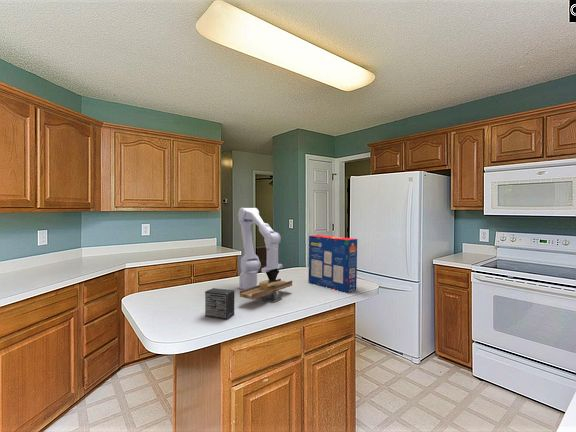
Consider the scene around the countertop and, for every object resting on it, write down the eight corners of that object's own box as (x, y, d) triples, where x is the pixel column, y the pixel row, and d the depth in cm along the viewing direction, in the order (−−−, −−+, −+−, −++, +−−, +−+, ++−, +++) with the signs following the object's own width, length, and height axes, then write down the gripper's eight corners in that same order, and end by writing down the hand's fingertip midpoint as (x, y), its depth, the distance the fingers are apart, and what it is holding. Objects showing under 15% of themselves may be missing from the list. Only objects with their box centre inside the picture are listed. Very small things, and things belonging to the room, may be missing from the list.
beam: (239, 296, 136) (239, 291, 136) (279, 283, 162) (279, 278, 162) (253, 299, 132) (253, 294, 132) (292, 285, 157) (292, 280, 157)
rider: (259, 288, 145) (259, 282, 145) (266, 285, 150) (266, 279, 150) (267, 290, 142) (267, 283, 142) (274, 287, 147) (274, 281, 147)
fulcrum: (253, 298, 147) (253, 288, 147) (262, 294, 153) (262, 285, 153) (273, 303, 141) (273, 292, 140) (282, 299, 146) (282, 289, 146)
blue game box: (356, 290, 163) (357, 239, 162) (347, 293, 158) (348, 240, 157) (317, 280, 184) (318, 234, 183) (308, 282, 178) (309, 235, 177)
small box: (235, 314, 125) (235, 289, 125) (227, 320, 119) (227, 293, 119) (213, 311, 129) (213, 287, 128) (204, 316, 123) (204, 291, 122)
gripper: (269, 260, 141) (269, 289, 141) (287, 256, 153) (287, 282, 153) (258, 258, 145) (257, 286, 145) (276, 254, 157) (275, 280, 157)
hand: (272, 284), depth 150 cm, fingers closed
